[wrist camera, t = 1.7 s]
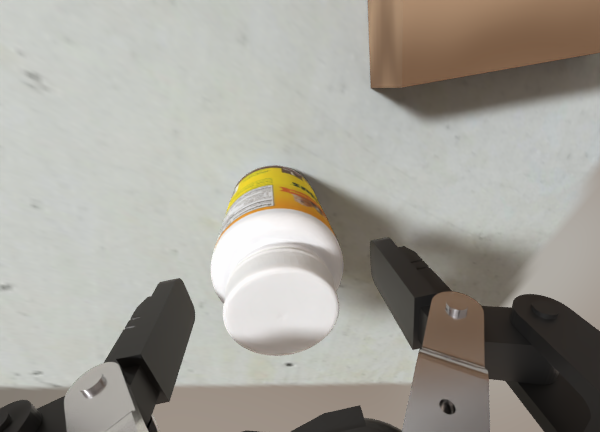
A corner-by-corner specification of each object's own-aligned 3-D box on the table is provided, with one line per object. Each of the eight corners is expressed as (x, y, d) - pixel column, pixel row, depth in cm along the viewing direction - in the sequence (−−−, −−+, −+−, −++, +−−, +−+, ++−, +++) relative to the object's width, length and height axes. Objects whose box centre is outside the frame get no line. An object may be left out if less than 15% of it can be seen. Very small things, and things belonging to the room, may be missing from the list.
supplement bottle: (325, 219, 19) (382, 338, 10) (255, 249, 20) (247, 391, 10) (294, 147, 17) (330, 216, 8) (215, 183, 17) (158, 292, 8)
